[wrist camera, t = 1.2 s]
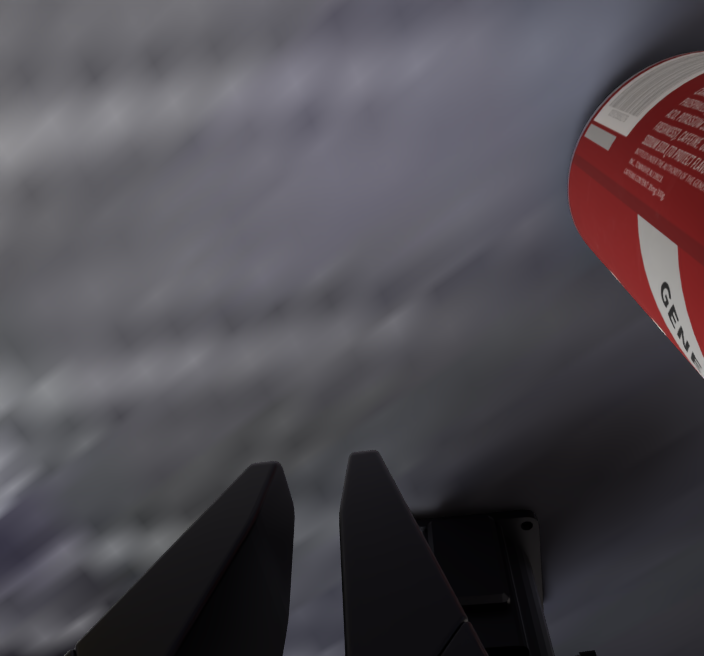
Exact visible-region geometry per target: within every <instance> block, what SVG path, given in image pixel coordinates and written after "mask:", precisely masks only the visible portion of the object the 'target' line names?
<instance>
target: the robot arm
mask: <svg viewBox="0 0 704 656" xmlns="http://www.w3.org/2000/svg"><path fill="white" fill-rule="evenodd" d="M294 520H295V515H294V506H293V501H292V498H291V494H290V491H289V488H288V484H287V481H286V477H285V474H284V471H283V468H282V466H281V464H280V463H279V462H277V461H270V462H261V463H254V464H252V465H250V466H249V467H248V468H247V469H246V470H245V471H244V472H243V473H242V474H241V475H240V476H239V477H238V478H237V479H236V480H235V481H234V482H233V483H232V484H231V485H230V486H229V487H228V488H227V489H226V490H225V491H224V492H223V493H222V494H221V496H220V497H219V498H218V499H217V500H216V501H215V502H214V503H213V504H212V505H211V506H210V507H209V508H208V509H207V510H206V511H205V512H204V513H203V514H202V515H201V516H200V517H199V518H198V519H197V520H196V521H195V522H194V523H193V524H192V525H191V526H190V527H189V528H188V529H187V530H186V531H185V532H184V533H183V535H182V536H181V537H180V538H179V539H178V540H177V541H176V542H175V543H174V544H173V545H172V546H171V547H170V548H169V549H168V550H167V551H166V552H165V553H164V554H163V555H162V556H161V557H160V558H159V559H158V560H157V561H156V562H155V563H154V564H153V565H152V566H151V567H150V568H149V569H148V570H147V571H146V573H145V574H144V575H143V576H142V577H141V578H140V579H139V580H138V581H137V582H136V583H135V584H134V585H133V586H132V587H131V588H130V589H129V590H128V591H127V592H126V593H125V594H124V595H123V596H122V597H121V598H120V599H119V600H118V601H117V602H116V603H115V604H114V605H113V606H112V607H111V608H110V609H109V610H108V612H107V613H106V614H105V615H104V616H103V617H102V618H101V619H100V620H99V621H98V622H97V623H96V624H95V625H94V626H93V627H92V628H91V629H90V630H89V631H88V632H87V633H86V634H85V635H84V636H83V637H82V638H81V639H80V640H79V641H78V642H77V643H76V645H75V650H69V651H68V652H67V653H66V654H65V655H64V656H282V655H283V650H284V644H285V638H286V632H287V625H288V617H289V604H290V588H291V571H292V554H293V538H294ZM526 521H528V523H523V522H526ZM339 528H340V550H341V572H342V593H343V615H344V637H345V656H555V655H554V651H553V647H552V643H551V639H550V636H549V632H548V628H547V624H546V620H545V616H544V613H543V612H544V611H543V592H542V573H541V554H540V536H539V523H538V520H537V517H536V514H535V513H534V512H532V511H529V510H521V511H511V512H500V513H489V514H478V515H467V516H457V517H446V518H435V519H424V520H415V519H414V517H413V515H412V513H411V511H410V509H409V507H408V506H407V504H406V502H405V500H404V498H403V496H402V494H401V493H400V491H399V489H398V487H397V485H396V483H395V481H394V480H393V478H392V476H391V474H390V472H389V470H388V468H387V466H386V465H385V463H384V461H383V459H382V457H381V455H380V454H379V452H378V451H376V450H370V451H361V452H354V453H352V454H351V455H350V456H349V459H348V465H347V470H346V476H345V482H344V487H343V493H342V499H341V505H340V512H339ZM579 654H580V655H577V656H596V653H595V650H593V651H585V652H579Z"/></svg>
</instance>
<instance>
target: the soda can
mask: <svg viewBox="0 0 704 656" xmlns="http://www.w3.org/2000/svg"><path fill="white" fill-rule="evenodd" d="M567 196H568V204H569V209H570V213H571V216H572V219H573V222H574V224H575V226H576V229H577V231H578V232H579V234H580V236H581V237H582V239H583V240H584V241H585V243H586V244H587V245H588V246H589V248H590V249H591V250H592V251H593V252H594V253H595V254H596V256H597V257H598V258H599V259H600V260H601V261H602V262H603V264H604V265H605V266H606V267H607V268H608V269H609V271H610V272H611V273H612V274H613V275H614V276H615V277H616V279H617V280H618V281H619V282H620V283H621V284H622V285H623V287H624V288H625V289H626V290H627V291H628V292H629V293H630V295H631V296H632V297H633V298H634V299H635V300H636V301H637V303H638V304H639V305H640V306H641V307H642V308H643V310H644V311H645V312H646V313H647V314H648V315H649V316H650V318H651V319H652V320H653V321H654V322H655V323H656V324H657V326H658V327H659V328H660V329H661V330H662V331H663V332H664V334H665V335H666V336H667V337H668V338H669V339H670V341H671V342H672V343H673V344H674V345H675V346H676V347H677V349H678V350H679V351H680V352H681V353H682V354H683V355H684V357H685V358H686V359H687V360H688V361H689V362H690V363H691V365H692V366H693V367H694V368H695V369H696V370H697V371H698V373H699V374H700V375H701V376H702V377H703V378H704V51H694V52H688V53H683V54H679V55H675V56H672V57H669V58H666V59H663V60H661V61H659V62H656V63H654V64H652V65H650V66H648V67H646V68H644V69H643V70H641V71H639V72H637V73H636V74H634V75H633V76H632V77H630V78H629V79H627V80H626V81H624V82H623V83H622V84H621V85H620V86H618V87H617V88H616V89H615V90H614V91H613V92H612V93H611V94H610V95H609V96H608V97H607V98H606V99H605V100H604V101H603V102H602V103H601V104H600V105H599V107H598V108H597V109H596V110H595V112H594V113H593V115H592V116H591V117H590V119H589V120H588V122H587V124H586V125H585V127H584V129H583V130H582V132H581V134H580V136H579V138H578V141H577V143H576V146H575V148H574V151H573V154H572V158H571V161H570V166H569V171H568V180H567Z"/></svg>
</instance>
